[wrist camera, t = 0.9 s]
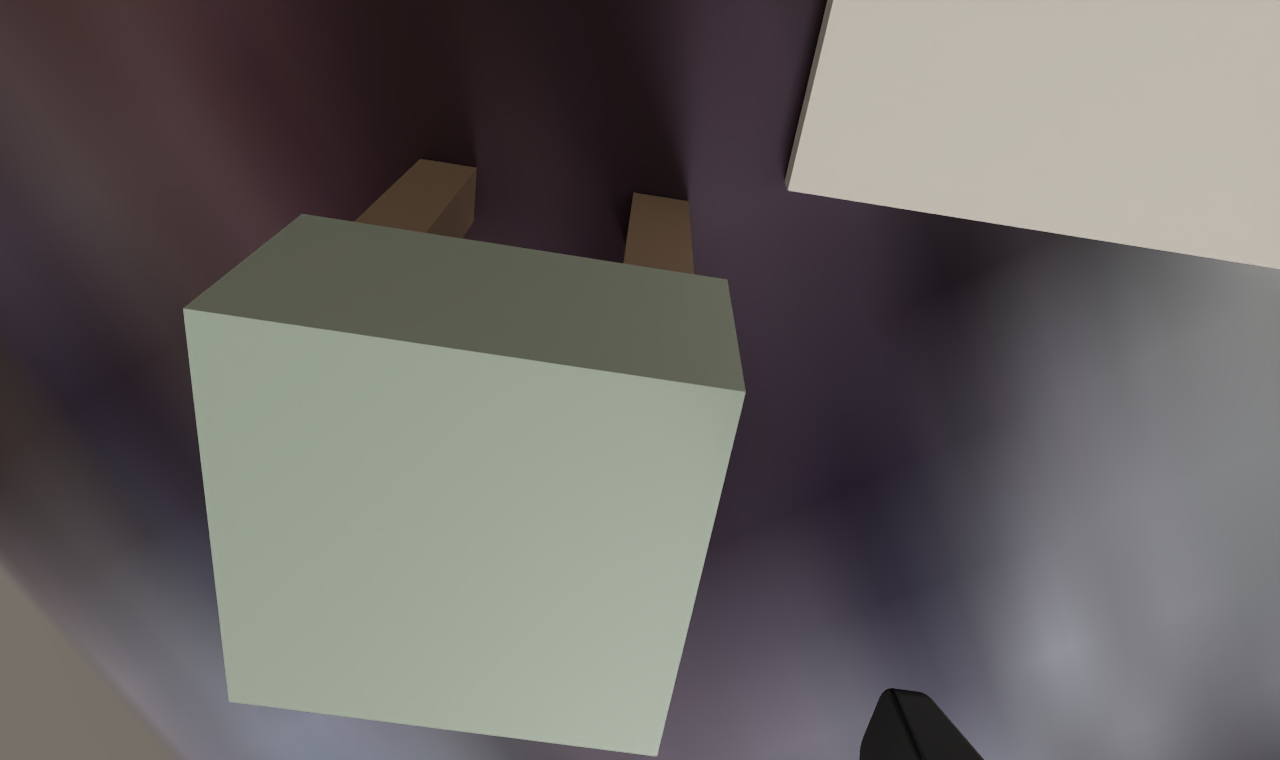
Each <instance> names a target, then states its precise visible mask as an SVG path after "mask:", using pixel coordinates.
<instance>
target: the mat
mask: <svg viewBox="0 0 1280 760" xmlns="http://www.w3.org/2000/svg"><path fill="white" fill-rule="evenodd" d="M784 183H785V185H786V188H787V190H788V191H795V192H801V193H807V194H813V195H820V196H826V197H832V198H838V199H845V200H851V201H857V202H863V203H870V204H876V205H882V206H888V207H895V208H901V209H907V210H913V211H920V212H926V213H932V214H938V215H945V216H951V217H957V218H963V219H970V220H976V221H982V222H988V223H995V224H1001V225H1007V226H1013V227H1020V228H1026V229H1032V230H1038V231H1045V232H1051V233H1057V234H1063V235H1070V236H1076V237H1082V238H1088V239H1095V240H1101V241H1107V242H1114V243H1120V244H1126V245H1132V246H1139V247H1145V248H1151V249H1157V250H1164V251H1170V252H1176V253H1182V254H1189V255H1195V256H1201V257H1207V258H1214V259H1220V260H1226V261H1232V262H1239V263H1245V264H1251V265H1257V266H1264V267H1270V268H1276V269H1280V0H827V4H826V8H825V13H824V17H823V21H822V25H821V29H820V34H819V38H818V42H817V46H816V51H815V55H814V59H813V63H812V68H811V72H810V76H809V80H808V84H807V89H806V93H805V97H804V101H803V106H802V110H801V114H800V118H799V122H798V127H797V131H796V135H795V139H794V144H793V148H792V152H791V156H790V160H789V165H788V169H787V173H786V177H785V182H784Z"/></svg>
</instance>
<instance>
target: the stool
mask: <svg viewBox="0 0 1280 760" xmlns="http://www.w3.org/2000/svg"><path fill="white" fill-rule="evenodd" d="M476 174H477V168H476V167H470V166H463V165H457V164H451V163H444V162H438V161H432V160H425V159H419V160H418V161H417V162H416V163H415V164H414V165H413V166H412V167H411V168H410V169H409V170H408V171H407V172H406V173H405V174H404V175H403V176H402V177H401V178H399V179H398V180H397V181H396V182H395V183H394V184H393V185H392V186H391V187H390V188H389V189H388V190H387V191H386V192H385V193H384V194H383V195H382V196H381V197H379V198H378V199H377V200H376V201H375V202H374V203H373V204H372V205H371V206H370V207H369V208H368V209H367V210H366V211H365V212H364V213H363V214H362V215H361V216H359V217H358V218H357V219H356V220H355V221H354V222H352V221H345V220H339V219H332V218H326V217H319V216H313V215H306V214H301V215H300V216H299V217H298V218H296V219H295V220H294V221H293V222H291V223H290V224H289V225H288V226H286V227H285V228H284V229H283V230H281V231H280V232H279V233H277V234H276V235H275V236H274V237H272V238H271V239H270V240H269V241H267V242H266V243H265V244H264V245H262V246H261V247H260V248H259V249H257V250H256V251H255V252H254V253H252V254H251V255H250V256H249V257H247V258H246V259H245V260H243V261H242V262H241V263H240V264H238V265H237V266H236V267H235V268H233V269H232V270H231V271H230V272H228V273H227V274H226V275H225V276H223V277H222V278H221V279H220V280H218V281H217V282H216V283H215V284H213V285H212V286H211V287H209V288H208V289H207V290H206V291H204V292H203V293H202V294H201V295H199V296H198V297H197V298H196V299H194V300H193V301H192V302H191V303H189V304H188V305H187V306H186V307H184V308H183V312H184V321H185V329H186V338H187V346H188V355H189V363H190V372H191V380H192V389H193V398H194V406H195V415H196V423H197V432H198V440H199V449H200V458H201V466H202V475H203V483H204V492H205V500H206V509H207V517H208V526H209V535H210V543H211V552H212V560H213V569H214V577H215V586H216V595H217V603H218V612H219V620H220V629H221V637H222V646H223V654H224V663H225V672H226V680H227V689H228V697H229V702H235V703H243V704H251V705H259V706H266V707H274V708H282V709H290V710H298V711H306V712H313V713H321V714H329V715H337V716H345V717H353V718H360V719H368V720H376V721H384V722H392V723H399V724H407V725H415V726H423V727H431V728H439V729H446V730H454V731H462V732H470V733H478V734H486V735H493V736H501V737H509V738H517V739H525V740H532V741H540V742H548V743H556V744H564V745H572V746H579V747H587V748H595V749H603V750H611V751H619V752H626V753H634V754H642V755H650V756H657V754H658V750H659V745H660V741H661V737H662V733H663V729H664V725H665V721H666V717H667V713H668V708H669V704H670V700H671V696H672V692H673V688H674V684H675V680H676V676H677V672H678V667H679V663H680V659H681V655H682V651H683V647H684V643H685V639H686V635H687V631H688V626H689V622H690V618H691V614H692V610H693V606H694V602H695V598H696V594H697V590H698V585H699V581H700V577H701V573H702V569H703V565H704V561H705V557H706V553H707V549H708V544H709V540H710V536H711V532H712V528H713V524H714V520H715V516H716V512H717V507H718V503H719V499H720V495H721V491H722V487H723V483H724V479H725V475H726V471H727V466H728V462H729V458H730V454H731V450H732V446H733V442H734V438H735V434H736V430H737V425H738V421H739V417H740V413H741V409H742V405H743V401H744V397H745V393H746V391H745V385H744V379H743V373H742V367H741V361H740V354H739V348H738V342H737V336H736V330H735V324H734V318H733V312H732V306H731V299H730V293H729V287H728V281H727V279H721V278H714V277H708V276H701V275H695V274H694V267H693V253H692V239H691V225H690V211H689V201H684V200H678V199H671V198H665V197H659V196H653V195H646V194H640V193H634V192H633V199H632V206H631V212H630V219H629V226H628V232H627V239H626V245H625V253H624V260H623V263H617V262H610V261H604V260H598V259H591V258H585V257H578V256H572V255H565V254H559V253H552V252H546V251H539V250H533V249H526V248H520V247H513V246H507V245H500V244H494V243H487V242H481V241H475V240H468V239H463V237H464V236H465V234H466V233H467V231H468V230H469V228H470V227H471V225H472V224H473V222H474V208H475V191H476Z"/></svg>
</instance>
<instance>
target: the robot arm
mask: <svg viewBox="0 0 1280 760" xmlns="http://www.w3.org/2000/svg"><path fill="white" fill-rule="evenodd" d="M860 760H984V759H983V758H982V757H981V756H980V754H979V753H978V752H977V751H976V750H975V749H974V747H973V746H972V745H971V744H970V743H969V742H968V741H967V739H966V738H965V737H964V736H963V735H962V734H961V732H960V731H959V730H958V729H957V728H956V727H955V725H954V724H953V723H952V722H951V721H950V720H949V718H948V717H947V716H946V715H945V714H944V713H943V711H942V710H941V709H940V708H939V707H938V706H937V704H936V703H935V702H934V701H933V700H932V699H931V698H930V697H929V696H927V695H926V694H924V693H921V692H916V691H909V690H901V689H894V688H890V689H887V690H885V691H884V692H883V693H882V694H881V696H880V698H879V700H878V703H877V705H876V708H875V710H874V712H873V715H872V717H871V720H870V722H869V725H868V727H867V730H866V732H865V734H864V737H863V740H862V743H861V748H860Z"/></svg>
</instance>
